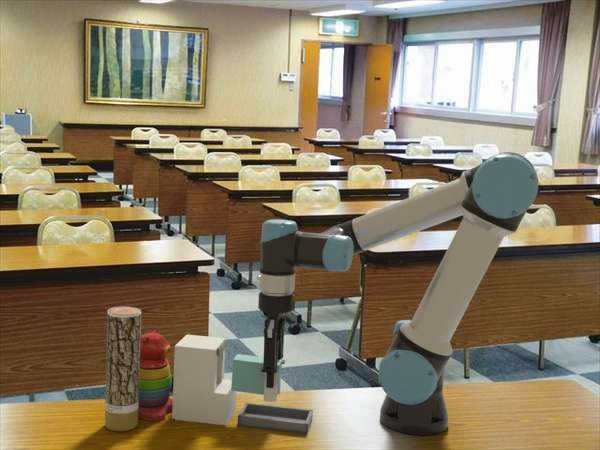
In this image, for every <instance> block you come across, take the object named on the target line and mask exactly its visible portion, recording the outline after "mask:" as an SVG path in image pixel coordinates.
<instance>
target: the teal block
mask: <svg viewBox="0 0 600 450" xmlns="http://www.w3.org/2000/svg"><path fill="white" fill-rule="evenodd" d="M282 360H283V359H282ZM282 360H280V359H277V372H278V378H277V395H279V394H278V392H279V390H280V391H281V385H280V379H281V380H282V365H283V364H282ZM263 362H264V356H258V355H255V356H254V355H249V354H248V355H247V354H239V353H237V354H236V355H235V357H234V358H233V361H232V373H231V375H232V376H231V380H232V385H231V391H236V392H240V393H246V394H255V395H262V396H264V378H265V372H261V369H263Z"/></svg>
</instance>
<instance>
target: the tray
mask: <svg viewBox="0 0 600 450" xmlns="http://www.w3.org/2000/svg"><path fill="white" fill-rule="evenodd" d="M240 410H241V411H240V412H239V414H238V415H237V427H243V428H251V429H261V430H270V431H276V432H277V431H279V432H287V433H297V434H304V435H308V433H309V430H310V427H311V425H312V421H313V413H314V410H313V409H310V408H309V409H308V408H300V407H299V408H298V407H297V408H296V407H291V406H290V407H288V406H278V405H273V404H263V403H262V404H260V403H252V402H245V404H244V406H243V407H242V408H241V409H240Z"/></svg>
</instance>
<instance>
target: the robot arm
mask: <svg viewBox="0 0 600 450" xmlns="http://www.w3.org/2000/svg"><path fill="white" fill-rule="evenodd" d="M538 193H539V178H538V174H537V171H536V169H535V167H534V165H533V164H532V163H531V161H529V160H528V159H527V158H526V156H523V155H522V154H519V153H517V152H509V151H507V152H500V153H497V154H494V155H492V156H490V157H488V158H486V159H485V160H483V162H482V163H479V164H478V165H477V166H474V167H472V168H470V169H467V170H465V171H462V173H461V175H460V177H459V178H457V179H455V180H452V181H449V182H447V183H444V184H442V185H439V186H437V187H434V188H431V189H428V190H426V191H424V192H420V193H419V194H415V195H413V196H411V197H408V198H405V199H402V200H400V201H398V202H394V203H393V204H389V205H387V206H384V207H382V208H380V209H377V210H374V211H371V212H369V213H366V214H364V215H361V216H359V217H355V218H353V219H351V220H348V221H345V222H343V223H340V224H339V223H338V224H336V225H333V226H331V227H329V228H328V229H326V230H324V231H323V232H321V233H320V232H319V233H318V232H304V231H299V228H298V224H297V223H296V221H293V220H288V219H268V220H266V221H264V222H263V223H262V226H261V236H260V242H259V244H260V247H259V248H260V250H259V251H260V254H259V255H260V259H259V260H260V261H259V263H260V264H259V274H258V275H257V276H256V279H257V281H259V283H258V284H259V285H258V287H259V289H258V290H260V292H259V293H258V302H257V303H258V306H257V308H258V310H259V311H261V312H263V313H266V314H267V317H266V319H265V320H264V324H263V325H264V329H263V338H264V339H263V357H264V362H263V369H261V372H265V378H264V395H263V402H272V403H277V397H278V395H281V389H280V390H279V392H278V394H277V378H278V372H277V359H280V360H282V365H285V363H286V360H285V359H283V358H284V347H285V346H284V343H285V341H284V340H285V325H286V318H287V317H286V314H287V313H290V312H292V311H293V309H294V304H295V303H294V301H295V299H294V298H295V297H294V296H295V295H294V293H293V292H294V291H295V285H296V268H304V269H313V270H320V271H328V272H347V271H349V270H350V268H351V265H352V264H353V258H354V256H355V255H358V254H360V253H363V252H365V251H368V250H371V249H374V248H376V247H377V248H378V247H380V246H382V245H385V244H388V243H390V242H393V241H395V240H398V239H400V238H405V237H406V236H410V235H412V234H415V233H417V232H420V231H423V230H426V229H428V228H432V227H434V226H436V225H440V224H443V223H444V222H445V223H446V222H448V221H451V220H453V219H456V218H458V217H461V216H462V217H463V218H462V219H461V222H460V223H459V226H458V227H457V229H456V232H455V234H454V236H453V238H452V240H451V242H450V244H449V245H448V247H447V249H446V252H445V254H444V256H443V258H442V260H441V261H440V263H439V266H438V268H437V269H436V271H435V273H434V276H432V279H431V281H430V283H429V286H428V287H427V289H426V291H425V294H424V296H422V300H421V302H420V304H419V305H418V307H417V309H416V311H415V313H414V315H413V317H412V320H411V319H405V320H404V319H401V320H398V321H397V322H396V323H395V324H394V329H393V331H392V332H393V334H394V335H393V340H392V341H391V344H390V346H389V348H388V350H387V352H386V354H385V356H384V357H383V358H382V359H381V360H380V362H379V366H378V381H379V384H380V386H381V389H382V390H383V391H384V393H385V394H386V395H385V397H384V400H383V403H382V405H381V407H380V413H379V420H380V421H379V422H381V424H382V425H384V426H385V427H387V428H388V429H391V430H393V431H395V432H397V433H398V432H399V433H402V434H408V435H415V436H430V435H431V436H433V435H437V434H440V433H443V432H444V431H446V430H447V429H446V428H448V425H449V424H448V423H449V414H448V410H447V405H446V402H445V397H444V391H443V390H444V389H443V388H444V380H445V379H444V378H445V368H446V366H447V364H448V362H449V360H450V358H451V357H452V354H453V353H454V352H453V351H454V350H453V348H452V344H451V340H452V337H453V336H454V334H455V331H456V330H457V328H458V326H459V324H460V322H461V320H462V318H463V317H464V314H465V312H466V311H467V309H468V307H469V305H470V303H471V301H472V299H473V297H474V295H475V293H476V291H478V287H479V285H480V283H481V282H482V280H483V277H485V275H486V273H487V270H488V268H489V266H490V264H491V262H492V260H493V259H494V257H495V256H496V253H497V251H498V249H499V247H500V245H501V244H502V241H503V239H504V238H505V237H508V236H509V235H513V234H516V232H517V230H518V228H519V226H520V224H521V222H522V220H523V219H524V217H525V215H526V213H527V211H528V210H529V208H530V207H531V206H532V205H533V204H534V202H535V200H536V198H537V195H538ZM281 382H282V378H281V379H280V386H281Z"/></svg>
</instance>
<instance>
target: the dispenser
mask: <svg viewBox="0 0 600 450" xmlns="http://www.w3.org/2000/svg"><path fill="white" fill-rule="evenodd" d="M227 347H228V339H227V338H224V337H218V336H208V335H207V336H205V335H197V334H186V335H185V336H183V338H182V339H180V340H179V341H178V342H177V343H176V344H175V345H174V360H173V361H174V363H173V381H172V384H173V387H172V399H173V410H172V411H171V412H172V414H171V415H172V416H171V418H172V419H171V420H173V419H175V421H183V422H184V421H185V422H192V423H199V424H200V423H201V424H207V425H209V424H210V425H220V426H227V425H228V423H229V422H230V419H231V418H232V417H233V415H234V413H235V412H236V405H237V391H231V385H232V379H227V378H225V364H226V348H227Z"/></svg>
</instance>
